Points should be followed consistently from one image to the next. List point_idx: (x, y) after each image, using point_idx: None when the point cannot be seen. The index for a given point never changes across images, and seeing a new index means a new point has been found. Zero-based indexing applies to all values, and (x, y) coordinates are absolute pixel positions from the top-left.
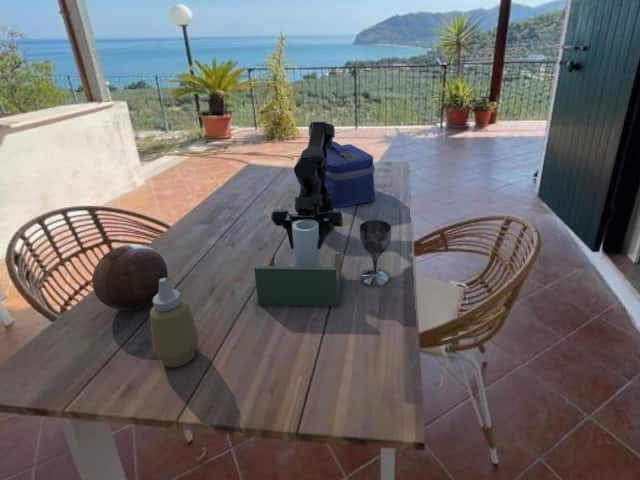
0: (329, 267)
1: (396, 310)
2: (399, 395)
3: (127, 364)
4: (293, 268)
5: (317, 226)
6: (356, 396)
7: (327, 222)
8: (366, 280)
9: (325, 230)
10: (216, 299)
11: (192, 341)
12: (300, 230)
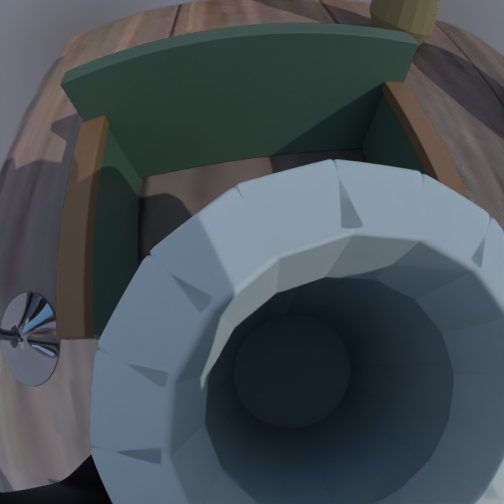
0: (86, 71)
1: (7, 198)
2: (65, 58)
3: (439, 42)
4: (250, 26)
5: (94, 407)
6: (113, 38)
7: (5, 500)
8: (43, 314)
9: (86, 464)
10: (472, 153)
11: (372, 2)
12: (377, 164)
